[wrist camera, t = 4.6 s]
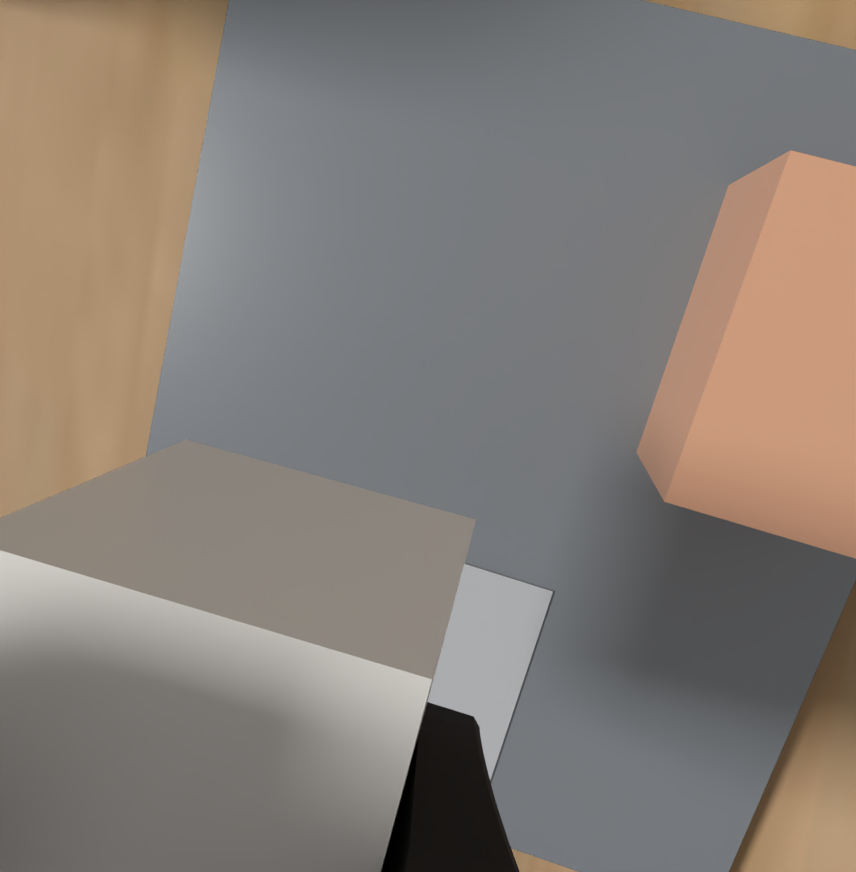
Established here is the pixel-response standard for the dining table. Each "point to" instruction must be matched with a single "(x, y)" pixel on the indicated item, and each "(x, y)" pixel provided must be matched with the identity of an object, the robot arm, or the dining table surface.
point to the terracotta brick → (768, 362)
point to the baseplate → (519, 369)
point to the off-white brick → (215, 667)
